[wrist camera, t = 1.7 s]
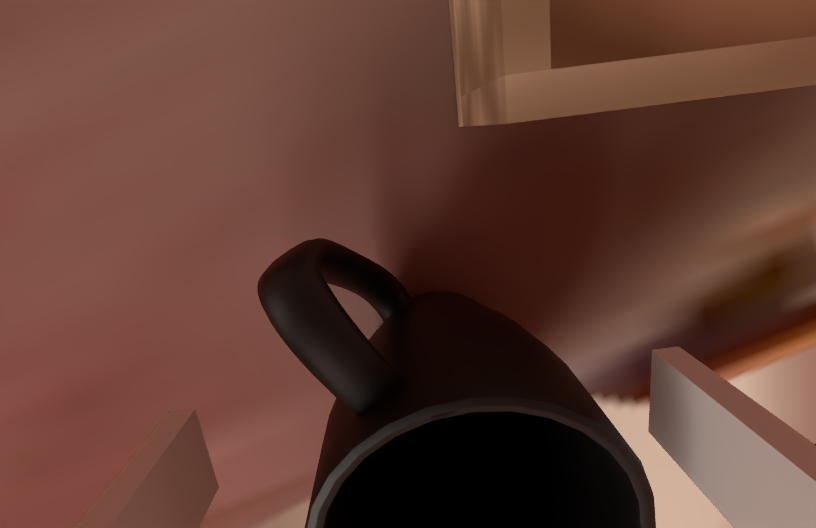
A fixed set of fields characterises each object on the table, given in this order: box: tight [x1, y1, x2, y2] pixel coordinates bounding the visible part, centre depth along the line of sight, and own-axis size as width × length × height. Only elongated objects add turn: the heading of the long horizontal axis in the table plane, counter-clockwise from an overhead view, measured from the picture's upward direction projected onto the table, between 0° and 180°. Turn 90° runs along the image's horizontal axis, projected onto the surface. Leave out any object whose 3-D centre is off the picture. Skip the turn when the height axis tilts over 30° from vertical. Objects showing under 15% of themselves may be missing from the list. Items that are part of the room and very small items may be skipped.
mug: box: [258, 238, 656, 528], centre depth 14 cm, size 8×12×10 cm
